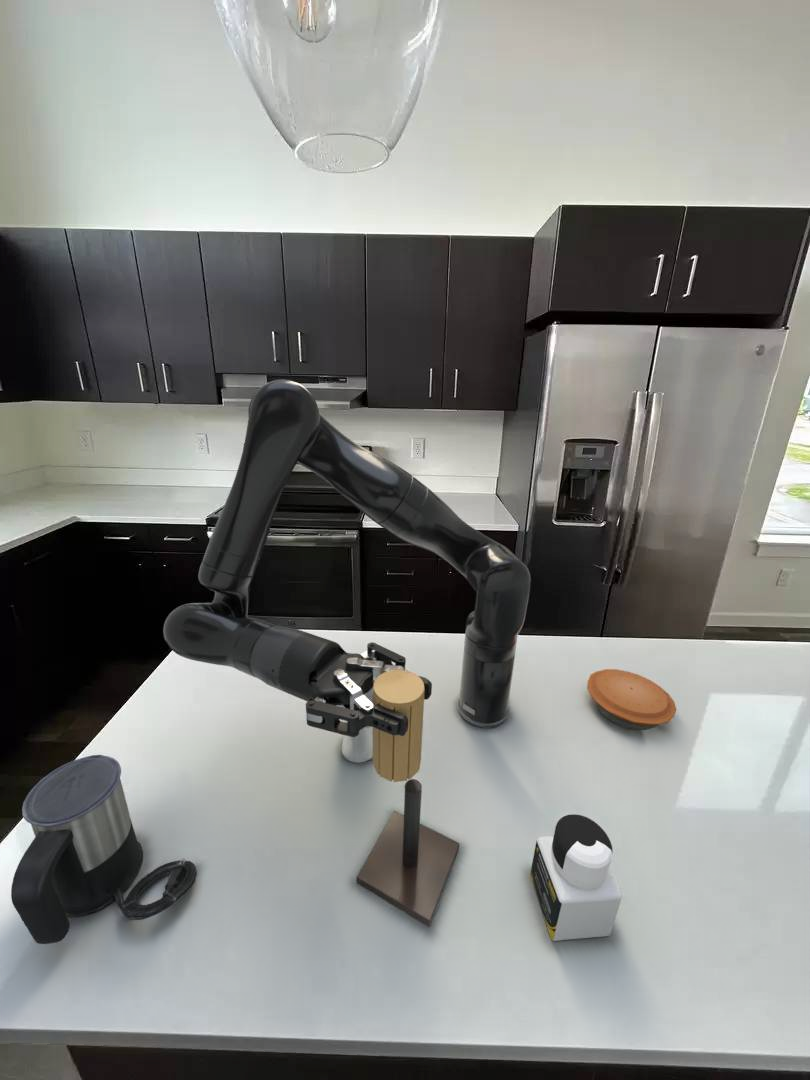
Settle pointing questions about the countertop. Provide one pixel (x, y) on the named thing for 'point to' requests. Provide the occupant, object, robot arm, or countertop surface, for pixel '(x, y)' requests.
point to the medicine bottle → (575, 880)
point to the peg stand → (410, 861)
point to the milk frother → (85, 852)
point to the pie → (630, 699)
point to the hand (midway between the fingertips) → (418, 707)
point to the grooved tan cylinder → (404, 752)
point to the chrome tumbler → (360, 739)
